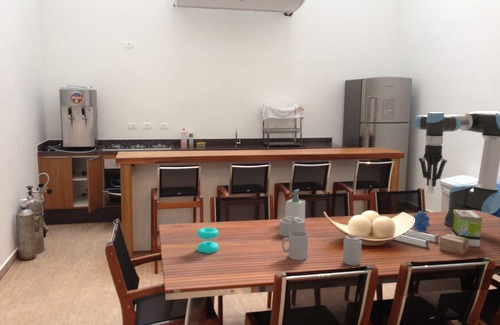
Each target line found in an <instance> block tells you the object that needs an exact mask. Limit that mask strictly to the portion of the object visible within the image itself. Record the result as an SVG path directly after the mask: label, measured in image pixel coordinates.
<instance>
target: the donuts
mask: <svg viewBox="0 0 500 325" xmlns="http://www.w3.org/2000/svg"><path fill="white" fill-rule="evenodd" d="M196 235H197V237H198V238H200V239H203V240H207V241H202V242H200V243H199V244H198V245H197V246H196V249H197V251H198V252H199V253H201V252H202V253H201V254H214V253H216V252H218V250H219V248H220V247H219V244H218V243H217V242H214V241H208V240H211V239H216V238H218V236H219V230H218V229H217V228H215V227H202V228H199V229H198V230H197V232H196ZM213 252H214V253H213Z"/></svg>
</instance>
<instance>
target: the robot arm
mask: <svg viewBox="0 0 500 325" xmlns="http://www.w3.org/2000/svg"><path fill="white" fill-rule="evenodd" d="M413 125H414V127H415V129H417V130H420V131H422V130H423V131H424V130H425V131H426V133H425V142H424V143H425V146H424V154H423V156H421V157H419V158H418V161H419V163H420V166H421V171H422V177H423V178H424V179H426V186H427V188H428V189H427V190H428V191H427V194H434V188H435V187H436V186H437V185H436V184H437V180H440V179H441V177H442V175H443V171H444V168H445V165H446V164H447V162H448V159H445V158H443V155H442V154H443V141H444V140H443V139H444V132H455V131H458V130H461V131H467V132H473V133H479V134H480V133H481V135H482V138H483V139H484V142H483V150H482V155H481V161H480V167H479V174H478V181H477V183H476V184H474V185H472V184H465V183H464V184H452V185H451V186H450V187H449V191H448V193H449V195H448V209H447V212H446V214H445V217H444V219H443V220H444V221H443V223H444V225H447V226H449V227H452V217H453V210H471V211H477V212H480V213H484V214H495V213H496V212H497V211H498V210H499V209H500V193H499V188H498V187H497V181H498V173H499V170H500V111H472V112H463V113H461V114H445V113H444V112H443V111H441V112H440V111H429V112H428V113H427V114H420V115H419V114H418V115H416V116H415V118H414V120H413ZM439 162H440V165H439ZM438 166H439V167H438Z"/></svg>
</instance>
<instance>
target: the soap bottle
mask: <svg viewBox="0 0 500 325" xmlns="http://www.w3.org/2000/svg"><path fill="white" fill-rule="evenodd" d="M299 191H300V188H297V189H294V190H293V193H294V195H293V196H292V198H290V199H288V200H286V201H285V210H284V211H285V215H284V218H286V217H287V216H291V217H292V218H293V217H299V218H300V219H302V220H304V221H305V222H306V200H305V199H300V198H299V196H298V192H299Z"/></svg>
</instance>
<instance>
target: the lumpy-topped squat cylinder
mask: <svg viewBox="0 0 500 325" xmlns="http://www.w3.org/2000/svg"><path fill="white" fill-rule="evenodd" d="M278 227H279V231H278V232H279V234H280V235H279V236H281V235H282V236H281V237H286V236H289V233H290V232H292V231H303V232H306V231H305V229H306V228H305V227H306V220H305V221H304V220H302V219H300V218H299V217H293V218H292V217H291V216H287V217H286V218H285V217H283V218H282V219H280V220H279V226H278Z"/></svg>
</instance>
